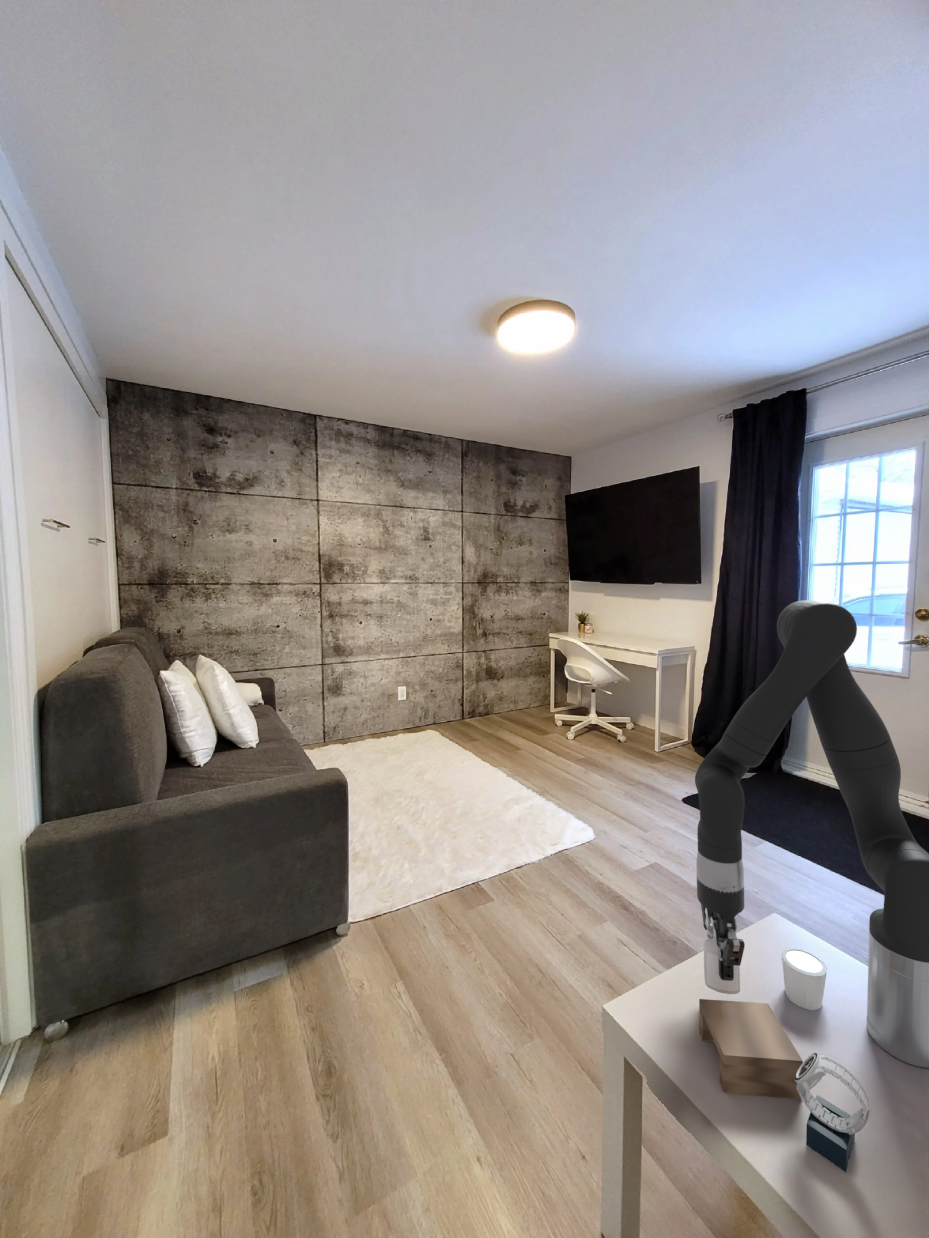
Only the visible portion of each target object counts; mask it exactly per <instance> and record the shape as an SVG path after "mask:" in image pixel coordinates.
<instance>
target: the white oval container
mask: <svg viewBox="0 0 929 1238" xmlns="http://www.w3.org/2000/svg"><path fill="white" fill-rule="evenodd" d="M781 960H782V961H781V962H782V963H781V965H782V973H783V983H784V992H785V995H786V996H787V998H788V999H789V1000H790V1001H791V1002H792V1003H794V1005H797V1006H799V1007H800V1008H803V1009H806V1010H809V1011H817V1010H820V1009H821V1008H822V1007H823V999H824V994H825V987H826V978H827V974H828V972H827V971H828V967H827V965H826V963H825V962H824V961H823V960H822V959H821V958H820V957H819V956H817V955H815V954H814V953H813V952H811V951H808V950H805V949H803V948H797V947H787V948H785V949H783V950H782V953H781Z"/></svg>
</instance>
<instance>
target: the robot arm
mask: <svg viewBox="0 0 929 1238" xmlns="http://www.w3.org/2000/svg"><path fill="white" fill-rule="evenodd" d="M857 631H858V626H857V622H856V620H855V617H854V615H852V613H851V611H849V610H848V609H846V608H845V607H844V606H841V605H839V604H836V603H833V602H827V601H820V600H812V599H811V600H808V599H807V600H806V599H805V600H803V599H802V600H799V601H795V602H792V603H789V604H788V605H787V606H786V607H785V608H784V609H782V611H781V612H780V614H779V615H778V618H777V623H776V633H777V635H778V636H777V637H778V639H779V640H780V643H781V645H782V646H783V651H782V653H781V656H780V657H779V660H778V661H777V663H776V665H775V666H774V668H773V669H772V671H771V672H770V674H769V675H768V677H767V678H766V679H765V680H764V681H763V682H762V684H760V685H759V686H758V688H756V690H755V691H753V693H752V694H751V695H750V696H749V697H748V698H747V699H746V700H745V701H744V702H743V704H741V706H740V708H738V711H736V713H735V715H734V716H733V718H732V719H731V721H730V722H729V725H728V726H727V728H726V729H725V732H724V733H723V734H722V737H721V739H720V741H719V742H718V743H717V744H716V745H715V746H714V747H713V748H712V749H711V750H710V752H709V753H708V754H707V755H706V756H705V757H704V759H703V760H702V761H701V763H700V764H699V765H698V768H697V770H696V773H695V776H694V783H695V784H694V785H695V786H696V790H697V794H698V801H699V821H698V824H697V834H696V835H697V854H696V897H697V900H698V902H699V903H700V909H701V914H702V923H703V928H704V930H705V931H707V932H706V934H707V935H706V936H707V939H710V938H713V934H714V942H715V943H716V945H717V946H718V957H719V976H720V978H721V979H722V980H728V981H732V980H733V979H734V965H736V966H739V967H740V966H741V963H742V959H743V954H744V952H745V944H746V943H745V942H744V939H743V938H738V937H737V929H738V925H737V923H738V922H737V920H736V918H735V917H736V916H737V915H739V914H741V913H742V912H743V910H744V909H745V869H744V863H743V843H742V842H743V841H742V840H743V838H742V837H743V836H742V829H743V824H744V817H745V791H744V790H743V789H744V788H743V786H742V784H741V783H740V782H741V781H742V778H743V777H744V776H745V775H746V773H747V772H748V771H749V770H750V768H757V767H759V766H760V765H761V764H762V763H763V761H764V760H765V758H766V757H767V755H768V754H769V753H770V751H771V749H772V748H773V746H774V744H775V742H776V741H777V739H778V737H779V736H780V735H781V733H782V731H783V730H784V729H785V727H786V725H787V724H788V722H789V721H790V719H791V718H792V716H793V715H794V714H795V712H796V711H797V710H798V708H799V707H800V706H801V704H802V703H803V702H804V700H805V699H806V701H807V704H808V707H809V708H808V709H809V710H810V714H811V716H812V720H813V722H814V726H815V728H816V731H817V735H818V738H819V740H820V745H821V747H822V750H823V753H824V754H825V757H826V759H827V763H828V765H829V767H830V770H831V771H832V774H833V777H834V780H835V781H836V785H837V786H838V789H839V791H840V794H841V797H842V798H843V800H844V803H845V805H846V807H847V809H848V811H849V816H850V817H851V821H852V825H853V829H854V833H855V838H856V840H857V841H856V842H857V845H858V846H857V847H858V850H859V854H860V858H861V859H860V860H861V862H862V864H863V867H864V869H865V870H866V873H867V874H868V875H869V877H870V878H871V880H873V882H874V883H875V884H877V885H878V887H879V888H880V889H881V890H882V891H883V892H884V893H883V894H884V896H883V908H878V909H875V910H874V911H872V912H871V913H870V916H869V922H868V923H869V924H868V925H869V927H868V930H869V931H868V961H867V963H868V966H867V967H868V968H867V995H866V996H867V1003H866V1004H867V1005H866V1030H867V1031H868V1034H869V1036H870V1037H871V1038H872V1039H873V1041H874V1042H875V1043H876V1045H878V1046H879V1047H880V1048H882V1049H883V1050H884V1051H886V1052H887V1053H888V1054H890V1055H891V1056H893V1057H895V1058H896V1059H898V1060H900V1061H902V1062H904V1063H907V1064H909V1065H911V1066H915V1067H920V1068H926V1069H927V1068H929V852H928V851H926V850H925V849H924V848H923V847H921V846H920V844H919V843H918V842H917V841H916V839H915V837H914V835H913V833H912V832H911V829H910V827H909V825H908V823H907V821H906V818H905V817H904V815H903V811H902V808H901V805H900V798H899V793H900V787H901V779H902V777H901V775H902V772H901V764H900V760H899V757H898V754H897V751H896V749H895V745H894V743H893V741H892V738H891V736H890V735H891V734H890V733H889V730H888V729H887V727H886V725H885V723H884V721H883V719H882V717H881V716H880V714H879V712H878V711H877V710H876V708H875V707H874V705H873V704H872V702H871V700H870V699H869V698H868V696H867V695H866V694H865V692H864V691H863V690H862V688H861V687H860V686H859V684H858V682H857V681H856V679H855V677H854V676H853V674H852V672H851V670H850V668H849V665H848V662H847V659H846V656H845V654H846V652H847V651H848V650H849V649H850V647H851V646H852V645H853V643H854V641H855V640H856V637H857V633H858V632H857ZM719 938H723V939H719ZM725 939H726V940H725ZM724 947H725V948H724ZM723 948H724V953H723Z"/></svg>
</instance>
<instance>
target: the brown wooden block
mask: <svg viewBox="0 0 929 1238" xmlns="http://www.w3.org/2000/svg"><path fill="white" fill-rule="evenodd" d="M698 1004H699V1005H698V1006H699V1008H698V1011H699V1012H698V1025H699V1026H698V1032H699V1033H698V1034H699V1035H700V1038H701V1040H702V1041H704V1042H714V1045H715V1047H716V1049H717V1052H718V1054H719V1084H720V1087H721V1089H722V1092H723V1094H724V1093H725V1094H733V1095H734V1094H737V1095H746V1096H760V1097H768V1098H769V1097H771V1098H782V1099H793V1100H795V1099H796V1100H802V1099H801V1097H800V1095H799V1093H798V1091H797V1084H798V1083H797V1082H796V1081H795V1075H796V1073H797V1071H798V1069H799V1067H800V1066H801V1065H802V1063H803V1062H804V1061H803V1059H802V1057H801V1056H800V1054H799V1052H798V1051H797V1049H796V1047H795V1045H794V1044H793V1042H792V1040H791V1038H790V1037H789V1035H788V1034H787V1032H786V1030H785V1029H784V1027H783V1025H782V1024H781V1022H780V1020H779V1018H778V1017H777V1015H776V1014H775V1012H774V1011H773V1009H772V1008H771V1006H770V1004H769V1003H767V1002H751V1001H736V1000H723V999H722V1000H720V999H705V998H699V1002H698Z"/></svg>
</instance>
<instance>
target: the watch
mask: <svg viewBox="0 0 929 1238" xmlns="http://www.w3.org/2000/svg"><path fill="white" fill-rule="evenodd" d="M826 1074H828V1075H831V1076H833V1077H834V1078H835V1079H837V1080H839V1081H840V1082H841V1083H842V1084H843V1085H844V1086H847V1088H848V1089H849V1090H850V1091H851V1093H853V1094H854V1097H855V1098H856V1099H857V1100H858V1102H859V1104H860V1106H861V1107H860V1109H859V1110H858V1111H857V1112H856V1113H854V1114H849V1113H848V1112H847V1111H845V1110H843V1109H841V1108H840V1107H838V1106H836V1105H835V1104H833V1103H832V1102H830V1101H828V1100H827V1099H825V1098H824V1097H822V1096H820V1095H818V1094H816V1096H814V1094H813V1093H812V1092H811V1091H810V1090H811V1089H813V1088H814V1087H815V1086H817V1084H818V1083H819V1082H820V1081H821V1080H822V1078H823V1077H825V1076H826ZM795 1081H796V1082H797V1083H798V1084H797V1091H798V1093H799V1095H800V1097H801V1099H800V1100H802V1103H804V1105H805V1107H806V1108H807V1109H808V1110H809V1111H810V1113H809V1116H808V1118H807V1121H806V1128H805V1129H806V1134H805V1135H806V1136H805V1139H806V1140H805V1142H806V1143H805V1145H806V1146H807V1147H808V1148H810V1149H811V1150H813V1151H814V1152H816V1153H817V1154H818V1155H820V1156H822V1158H825V1159H826V1160H827V1161H829V1162H830V1163H832V1164H833V1165H835V1166H836V1167H837V1168H839V1169H840V1170H841V1171H843V1172H845V1173H847V1169H848V1166H849V1162H850V1159H851V1155H852V1150H853V1147H854V1144H855V1143H854V1142H855V1141H856V1139H855V1136H856V1135H855V1134H857V1133H858V1132H861V1130H863V1129H864V1127H865V1126H866V1124H867V1122H868V1120H869V1116H870V1111H871V1110H870V1102H869V1097H868V1095H867V1093H866V1091H865V1089H864V1087H863V1086H862V1084H861V1083H860V1082H859V1080H858V1079H857V1078H856V1077H855V1075H854V1074H852V1072H851V1071H849V1070H848V1069H847V1068H846V1067H845V1066H844V1065H842V1064H841V1063H839V1062H837V1061H835V1060H833V1059H832V1058H830V1057H829V1056H828V1055H820V1054H819V1053H818V1052H814V1053H811V1054H810V1055H808V1057H807V1058H806V1059H805V1060H804V1061H803V1063H802V1065H801V1066H800V1067H799V1069H798V1071H797V1073H796V1075H795Z"/></svg>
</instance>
